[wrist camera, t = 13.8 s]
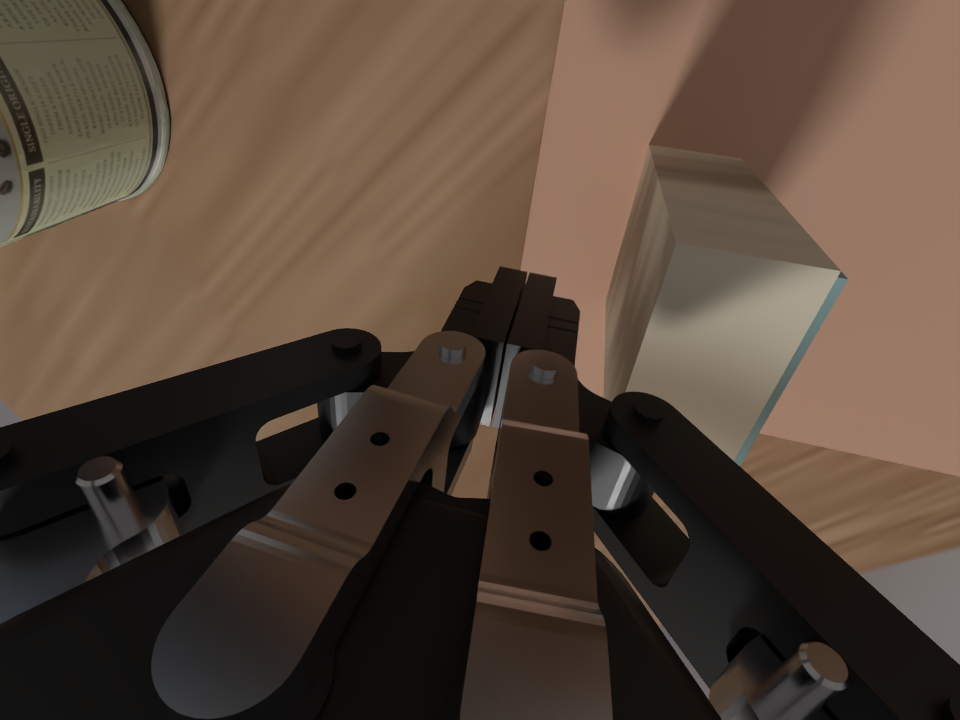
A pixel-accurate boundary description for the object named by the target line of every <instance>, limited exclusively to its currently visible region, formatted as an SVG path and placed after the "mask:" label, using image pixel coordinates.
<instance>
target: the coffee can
mask: <svg viewBox="0 0 960 720" xmlns="http://www.w3.org/2000/svg"><path fill="white" fill-rule="evenodd" d="M169 138H170V117H169V110H168V106H167V102H166V96H165V91H164V87H163V83H162V80H161V76H160V73H159V71H158V68H157V65H156V63H155V61H154V58H153V56H152V53H151V51H150V49H149V47H148V45H147V43H146V41H145V39H144V37H143V35H142V33H141V31H140V30H139V28H138V26H137V24H136V23H135V21H134V20H133V18H132V17H131V15H130V13H129V12H128V10H127V8H126V7H125V5H124V4H123V2H122V1H121V0H0V247H1V246H4V245H6V244H9V243H11V242H14V241H17V240H19V239H22V238H24V237H27V236H29V235H32V234H34V233H37V232H39V231H42V230H45V229H48V228H50V227H53V226H56V225H58V224H60V223H63V222H65V221H67V220H70V219H73V218H76V217H78V216H81V215H84V214H86V213H88V212H91V211H94V210H96V209H99V208H101V207H104V206H106V205H109V204H111V203H114V202H116V201H121V200H125V199H129V198H132V197H134V196H136V195H138V194H140V193H142V192H144V191H145V190H146V189H148V188H149V187H150V186H151V185H152V184H153V182H154V181H155V180H156V178H157V177H158V176H159V174H160V172H161V170H162V168H163V166H164V163H165V159H166V156H167V153H168V146H169Z"/></svg>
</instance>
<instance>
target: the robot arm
mask: <svg viewBox="0 0 960 720" xmlns="http://www.w3.org/2000/svg"><path fill="white" fill-rule="evenodd" d="M526 279H527V272H526V271H521V270H516V269H511V268H506V267H501V266H500V268H499V270H498V272H497V274H496V277H495V279H494V281H493V283H487V282H482V281H475V282H473V283H472V284H470V285H468V286H466V287H465V288H464V289H463V291H462V293H461V295H460V297H459V300H457V302H456V304H455V306H454V308H453V310H452V312H451V313H450V315H449V317H448V319H447V321H446V323H445V325H444V326H443V328H442V330H441V332H436V333H433V334H431V335H428V336H427V337H425V338H424V339H423V340H422V342H421V343H420V344H419V346H418V347H417V348H416V350H415V351H412V352H381V343H380V341H379V340H378V339H377V337H375V336H374V335H373V334H371V333H369V332H366V331H363V330H359V329H351V328H344V329H336V330H332V331H328V332H325V333H321V334H318V335H314V336H311V337H307V338H304V339H301V340H297V341H294V342H290V343H287V344H284V345H280V346H277V347H273V348H270V349H267V350H263V351H260V352H256V353H253V354H249V355H246V356H243V357H239V358H236V359H232V360H229V361H226V362H222V363H219V364H215V365H212V366H209V367H205V368H202V369H198V370H195V371H192V372H188V373H185V374H181V375H178V376H174V377H171V378H168V379H164V380H161V381H157V382H154V383H151V384H147V385H144V386H140V387H137V388H134V389H130V390H127V391H123V392H120V393H116V394H113V395H110V396H106V397H103V398H99V399H96V400H93V401H89V402H86V403H82V404H79V405H76V406H72V407H69V408H65V409H62V410H58V411H55V412H52V413H48V414H45V415H41V416H38V417H35V418H31V419H28V420H24V421H21V422H18V423H14V424H11V425H7V426H4V427H0V720H960V665H959V664H958V663H957V662H956V661H955V660H954V659H952V658H951V657H950V656H949V655H948V654H947V653H946V652H945V651H944V650H943V649H941V648H940V647H939V646H938V645H937V644H936V643H935V642H934V641H933V640H931V639H930V638H929V637H928V636H927V635H926V634H925V633H924V632H923V631H921V630H920V629H919V628H918V627H917V626H916V625H915V624H914V623H913V622H912V621H910V620H909V619H908V618H907V617H906V616H905V615H904V614H903V613H902V612H900V611H899V610H898V609H897V608H896V607H895V606H894V605H893V604H892V603H890V602H889V601H888V600H887V599H886V598H885V597H884V596H883V595H882V594H880V593H879V592H878V591H877V590H876V589H875V588H874V587H873V586H872V585H871V584H869V583H868V582H867V581H866V580H865V579H864V578H863V577H862V576H861V575H859V574H858V573H857V572H856V571H855V570H854V569H853V568H852V567H851V566H849V565H848V564H847V563H846V562H845V561H844V560H843V559H842V558H841V557H840V556H838V555H837V554H836V553H835V552H834V551H833V550H832V549H831V548H830V547H828V546H827V545H826V544H825V543H824V542H823V541H822V540H821V539H820V538H818V537H817V536H816V535H815V534H814V533H813V532H812V531H811V530H810V529H809V528H807V527H806V526H805V525H804V524H803V523H802V522H801V521H800V520H799V519H797V518H796V517H795V516H794V515H793V514H792V513H791V512H790V511H789V510H787V509H786V508H785V507H784V506H783V505H782V504H781V503H780V502H779V501H777V500H776V499H775V498H774V497H773V496H772V495H771V494H770V493H769V492H768V491H766V490H765V489H764V488H763V487H762V486H761V485H760V484H759V483H758V482H756V481H755V480H754V479H753V478H752V477H751V476H750V475H749V474H748V473H746V472H745V471H744V470H743V469H742V468H741V467H740V466H739V465H738V464H737V463H735V462H734V461H733V460H732V459H731V458H730V457H729V456H728V455H727V454H725V453H724V452H723V451H722V450H721V449H720V448H719V447H718V446H717V445H715V444H714V443H713V442H712V441H711V440H710V439H709V438H708V437H707V436H706V435H704V434H703V433H702V432H701V431H700V430H699V429H698V428H697V427H696V426H694V425H693V424H692V423H691V422H690V421H689V420H688V419H687V418H686V417H684V416H683V415H682V414H681V413H680V412H679V411H678V410H677V409H676V408H674V407H673V406H672V405H671V404H670V403H668V402H666V401H665V400H663V399H661V398H659V397H657V396H654V395H651V394H648V393H643V392H635V391H634V392H624V393H621V394H619V395H617V396H616V397H615V398H614V399H613V401H609V400H607V399H605V398H603V397H600V396H598V395H596V394H595V393H593V392H591V391H590V390H588V389H587V388H586V387H585V386H583V384H582V383H581V382H580V381H579V380H578V376H577V370H576V368H575V357H576V348H577V338H578V329H579V319H580V310H579V308H578V307H577V305H576V304H575V302H574V300H571V299H566V298H561V297H556V296H553V295H554V290H555V285H556V280H557V277H552V276H547V275H542V274H537V273H532V272H530V273H529V276H528V279H527V282H526ZM316 403H317V407H318V418H316V419H313V420H311V421H308V422H306V423H303V424H300V425H298V426H295V427H293V428H290V429H288V430H285V431H283V432H280V433H278V434H275V435H272V436H270V437H267V438H265V439H262V440H260V441H257V442H256V440H255V439H256V435H257V432H258V431H259V429H260V428H261V427H262V426H263V425H264V424H266V423H267V422H269V421H271V420H273V419H275V418H278V417H281V416H283V415H286V414H289V413H291V412H294V411H297V410H300V409H302V408H305V407H308V406H310V405H313V404H316ZM496 403H497V404H496ZM495 406H496V410H495ZM494 410H495V416H494V421H493V427H496V428H499V430H498V435H497V441H496V446H495V452H494V457H493V463H492V470H491V476H490V482H489V489H488V495H487V499H480V498H457V497H453V496H451V495H452V493H453V490H454V488H455V486H456V483H457V481H458V479H459V477H460V474H461V472H462V470H463V467H464V465H465V463H466V461H467V458H468V456H469V454H470V451H471V448H472V443H473V438H474V437H475V435H476V433H477V430H478V427H479V424H482V425H487V426H490V423H491V420H492V417H493V413H494ZM654 492H655V493H656V494H657V495H658V496H659V497H660V498H661V499H662V500H663V502H664V503H665V504H666V505H667V506H668V507H669V508H670V509H671V510H672V512H673V513H674V514H675V515H676V516H677V517H678V518H679V519H680V521H681V522H682V523H683V525H684V526H685V528H686V530H687V533H688V536H689V538H688V537H687V536H686V535H685V534H684V533H683V532H682V531H681V529H680V528H679V527H678V526H677V525H676V524H675V523H674V522H673V520H672V519H671V518H670V517H669V516H668V515H667V514H666V512H665V511H664V510H663V509H662V508H661V507H660V506H659V505H658V503H657V502H656V501H655V500H654V499H653V498H652V496H653V494H654ZM594 532H595V533H596V535H597V536H598V537H599V539H600V540H601V541H602V543H603V544H604V546H605V547H606V548H607V550H608V551H609V552H610V554H611V555H612V556H613V558H614V559H615V561H616V562H617V563H618V565H619V566H620V567H621V569H622V570H623V571H624V573H625V574H626V576H627V577H628V578H629V580H630V581H631V582H632V584H633V585H634V586H635V588H636V589H637V591H638V592H639V593H640V595H641V596H642V597H643V599H644V600H645V601H646V603H647V604H648V606H649V607H650V608H651V610H652V611H653V612H654V614H655V615H656V617H657V618H658V619H659V621H660V622H661V623H662V625H663V626H664V627H665V629H666V630H667V632H668V633H669V634H670V636H671V637H672V638H673V639H674V641H675V642H676V644H677V645H678V646H679V648H680V649H681V651H682V652H683V653H684V655H685V656H686V657H687V659H688V660H689V661H690V663H691V664H692V666H693V667H694V668H695V670H696V671H697V672H698V674H699V675H700V677H701V678H702V679H703V681H704V682H705V683H706V685H707V686H708V687H709V689H710V694H709V700H708V698H707V697H706V695H705V694H704V692H703V691H702V690H701V688H700V687H699V685H698V684H697V682H696V681H695V679H694V678H693V677H692V675H691V673H690V672H689V670H688V669H687V668H686V666H685V665H684V663H683V662H682V660H681V659H680V658H679V656H678V655H677V653H676V651H675V650H674V649H673V647H672V646H671V644H670V643H669V641H668V640H667V639H666V637H665V636H664V634H663V632H662V631H661V630H660V628H659V627H658V625H657V624H656V622H655V621H654V619H653V618H652V616H651V615H650V613H649V612H648V611H647V609H646V608H645V606H644V605H643V603H642V602H641V600H640V599H639V597H638V596H637V594H636V593H635V592H634V590H633V589H632V587H631V586H630V584H629V583H628V581H627V580H626V579H625V577H624V576H623V575H622V573H621V572H620V571H619V570H618V569H617V568H616V567H615V565H614V564H613V563H612V562H611V561H610V560H609V559H608V558H607V557H605V556H604V555H603V554H602V553H601V552H600V551H599V550H597V549H596V548H595V544H594Z"/></svg>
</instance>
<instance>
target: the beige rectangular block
mask: <svg viewBox="0 0 960 720" xmlns="http://www.w3.org/2000/svg"><path fill="white" fill-rule="evenodd" d="M847 281H848V278H847V277H846V276H845V275H844V274H843V273H842V271H841V270H840V269H839V268H838V267H837V266H836V265H835V264H834V262H833V261H832V260H831V259H830V258H829V257H828V256H827V255H826V253H825V252H824V251H823V250H822V249H821V248H820V247H819V246H818V244H817V243H816V242H815V241H814V240H813V239H812V238H811V236H810V235H809V234H808V233H807V232H806V231H805V230H804V229H803V227H802V226H801V225H800V224H799V223H798V222H797V221H796V220H795V218H794V217H793V216H792V215H791V214H790V213H789V212H788V211H787V209H786V208H785V207H784V206H783V205H782V204H781V203H780V202H779V200H778V199H777V198H776V197H775V196H774V195H773V194H772V193H771V191H770V190H769V189H768V188H767V187H766V186H765V185H764V183H763V182H762V181H761V180H760V179H759V178H758V177H757V176H756V174H755V173H754V172H753V171H752V170H751V169H750V168H749V167H748V166H747V164H746V163H745V162H744V161H743V160H742V159H741V158H737V157H730V156H723V155H716V154H710V153H703V152H696V151H689V150H683V149H676V148H669V147H662V146H656V145H648V149H647V152H646V156H645V160H644V163H643V167H642V171H641V174H640V178H639V181H638V185H637V189H636V192H635V196H634V200H633V203H632V207H631V210H630V214H629V218H628V221H627V225H626V229H625V232H624V236H623V239H622V243H621V247H620V250H619V254H618V258H617V261H616V265H615V268H614V272H613V276H612V279H611V283H610V287H609V290H608V294H607V297H606V306H605V353H604V398H605V399H607V400H609V401H613V399H614V398H615V397H616V396H617V395H619V394H621V393H624V392H634V391H635V392H643V393H648V394H651V395H654V396H657V397H659V398H661V399H663V400H665V401H666V402H668V403H670V404H671V405H672V406H673V407H674V408H676V409H677V410H678V411H679V412H680V413H681V414H682V415H683V416H684V417H686V418H687V419H688V420H689V421H690V422H691V423H692V424H693V425H694V426H696V427H697V428H698V429H699V430H700V431H701V432H702V433H703V434H704V435H706V436H707V437H708V438H709V439H710V440H711V441H712V442H713V443H714V444H715V445H717V446H718V447H719V448H720V449H721V450H722V451H723V452H724V453H725V454H727V455H728V456H729V457H730V458H731V459H732V460H733V461H734V462H735V463H737V464H738V465H739V466H740V465H741V463H742V462H743V460H744V458H745V456H746V455H747V453H748V451H749V450H750V448H751V446H752V444H753V443H754V441H755V439H756V438H757V436H758V434H759V432H760V431H761V429H762V427H763V425H764V424H765V422H766V420H767V419H768V417H769V415H770V413H771V412H772V410H773V408H774V407H775V405H776V403H777V401H778V400H779V398H780V396H781V394H782V393H783V391H784V389H785V388H786V386H787V384H788V382H789V381H790V379H791V377H792V376H793V374H794V372H795V370H796V369H797V367H798V365H799V363H800V362H801V360H802V358H803V357H804V355H805V353H806V351H807V350H808V348H809V346H810V345H811V343H812V341H813V339H814V338H815V336H816V334H817V332H818V331H819V329H820V327H821V326H822V324H823V322H824V320H825V319H826V317H827V315H828V314H829V312H830V310H831V308H832V307H833V305H834V303H835V301H836V300H837V298H838V296H839V295H840V293H841V291H842V289H843V288H844V286H845V284H846V283H847Z"/></svg>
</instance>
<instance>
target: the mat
mask: <svg viewBox="0 0 960 720" xmlns="http://www.w3.org/2000/svg"><path fill="white" fill-rule="evenodd" d="M648 145H656V146H662V147H669V148H676V149H683V150H689V151H696V152H703V153H710V154H716V155H723V156H730V157H737V158H741V159H742V160H743V161H744V162H745V163H746V164H747V166H748V167H749V168H750V169H751V170H752V171H753V172H754V173H755V174H756V176H757V177H758V178H759V179H760V180H761V181H762V182H763V183H764V185H765V186H766V187H767V188H768V189H769V190H770V191H771V193H772V194H773V195H774V196H775V197H776V198H777V199H778V200H779V202H780V203H781V204H782V205H783V206H784V207H785V208H786V209H787V211H788V212H789V213H790V214H791V215H792V216H793V217H794V218H795V220H796V221H797V222H798V223H799V224H800V225H801V226H802V227H803V229H804V230H805V231H806V232H807V233H808V234H809V235H810V236H811V238H812V239H813V240H814V241H815V242H816V243H817V244H818V246H819V247H820V248H821V249H822V250H823V251H824V252H825V253H826V255H827V256H828V257H829V258H830V259H831V260H832V261H833V262H834V264H835V265H836V266H837V267H838V268H839V269H840V270H841V271H842V273H843V274H844V275H845V276H846V277H847V278H848V281H847V283H846V284H845V286H844V288H843V289H842V291H841V293H840V295H839V296H838V298H837V300H836V301H835V303H834V305H833V307H832V308H831V310H830V312H829V314H828V315H827V317H826V319H825V320H824V322H823V324H822V326H821V327H820V329H819V331H818V332H817V334H816V336H815V338H814V339H813V341H812V343H811V345H810V346H809V348H808V350H807V351H806V353H805V355H804V357H803V358H802V360H801V362H800V363H799V365H798V367H797V369H796V370H795V372H794V374H793V376H792V377H791V379H790V381H789V382H788V384H787V386H786V388H785V389H784V391H783V393H782V394H781V396H780V398H779V400H778V401H777V403H776V405H775V407H774V408H773V410H772V412H771V413H770V415H769V417H768V419H767V420H766V422H765V424H764V425H763V427H762V429H761V431H760V432H759V433H760V434H765V435H769V436H774V437H779V438H783V439H788V440H793V441H797V442H802V443H807V444H811V445H816V446H820V447H825V448H830V449H834V450H839V451H844V452H848V453H853V454H858V455H862V456H867V457H872V458H876V459H881V460H885V461H890V462H895V463H899V464H904V465H909V466H913V467H918V468H923V469H927V470H932V471H937V472H941V473H946V474H950V475H955V476H960V0H565V4H564V10H563V16H562V22H561V28H560V34H559V40H558V46H557V52H556V58H555V64H554V70H553V76H552V82H551V88H550V94H549V100H548V106H547V112H546V118H545V124H544V130H543V136H542V142H541V148H540V154H539V161H538V167H537V173H536V179H535V185H534V191H533V197H532V203H531V209H530V215H529V221H528V227H527V233H526V239H525V245H524V251H523V257H522V263H521V269H520V270H521V271H526V272H527V279H528V276H529V273H530V272H532V273H537V274H542V275H547V276H552V277H557V280H556V285H555V290H554V295H553V296H556V297H561V298H566V299H571V300H574V302H575V304H576V305H577V307H578V308H579V310H580V319H579V329H578V338H577V348H576V357H575V368H576V370H577V376H578V380H579V381H580V382H581V383H582V384H583V386H585V387H586V388H587V389H588V390H590V391H591V392H593V393H595V394H596V395H598V396H600V397H603V398H604V353H605V306H606V297H607V294H608V290H609V287H610V283H611V279H612V276H613V272H614V268H615V265H616V261H617V258H618V254H619V250H620V247H621V243H622V239H623V236H624V232H625V229H626V225H627V221H628V218H629V214H630V210H631V207H632V203H633V200H634V196H635V192H636V189H637V185H638V181H639V178H640V174H641V171H642V167H643V163H644V160H645V156H646V152H647V149H648ZM527 279H526V282H527Z"/></svg>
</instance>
